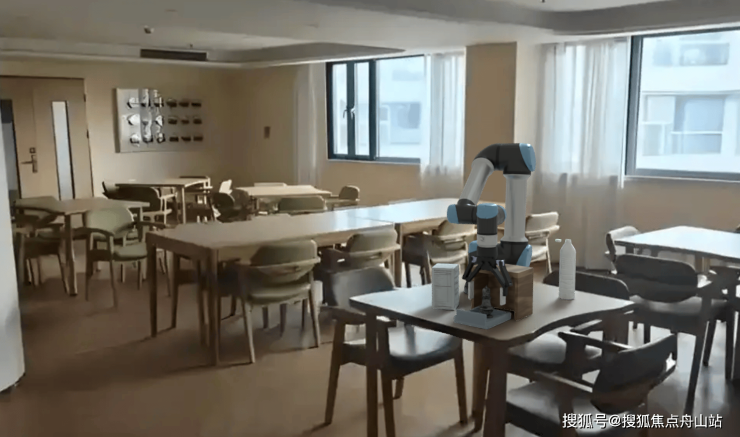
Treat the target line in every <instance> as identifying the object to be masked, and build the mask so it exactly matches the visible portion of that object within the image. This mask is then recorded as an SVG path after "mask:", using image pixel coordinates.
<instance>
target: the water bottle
mask: <svg viewBox="0 0 740 437" xmlns="http://www.w3.org/2000/svg"><path fill="white" fill-rule="evenodd" d="M554 241H555V243H561V242H562V239H559V238H555V239H554ZM572 243H573V242H572V239H571V238H565V241H564V243H563V244H562V246H561V248H560V249H559V267H558V268H559V269H558V270H559V271H558V272H559V274H558V282H559V283H558V299H560V298H561V300H565V301H566V300H567V301H568V300H569V301H571V300H575V298H576V295H575V294H576V293H575V292H576V262H577V260H576V258H577V250H576V248H575V247H574V245H573V244H572Z"/></svg>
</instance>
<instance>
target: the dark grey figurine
mask: <svg viewBox="0 0 740 437" xmlns="http://www.w3.org/2000/svg"><path fill="white" fill-rule="evenodd" d="M490 298H491V297H490V289H489V288H488V287H487V285H486V287H485V288H483V296H482V305H481V306H479V307H478V308H479V311H480V312H481V313H482V314H487V318H493V316H492V315H491V313H492V312H493V309H495V308H494V307H493V306H491V303H490Z"/></svg>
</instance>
